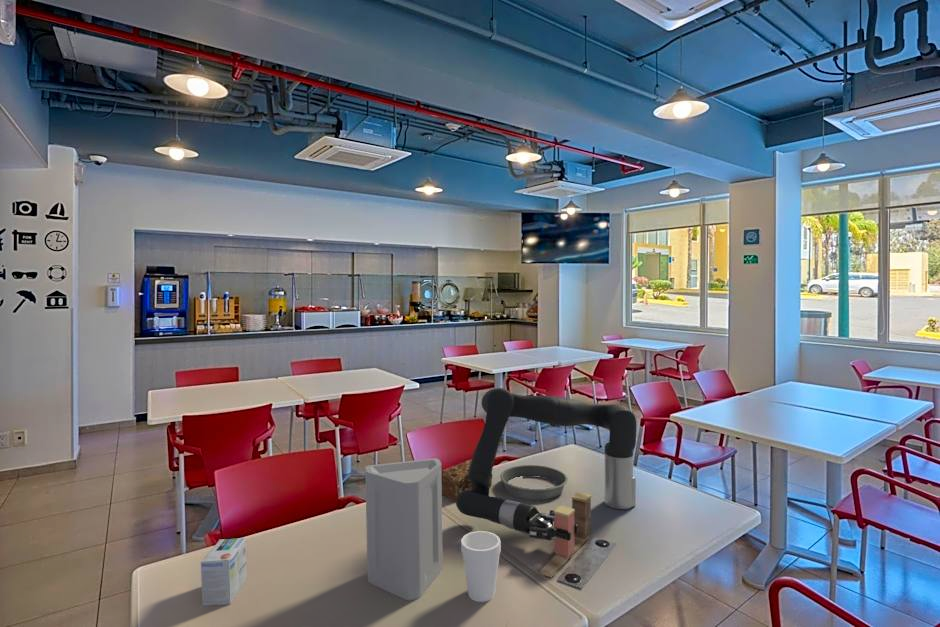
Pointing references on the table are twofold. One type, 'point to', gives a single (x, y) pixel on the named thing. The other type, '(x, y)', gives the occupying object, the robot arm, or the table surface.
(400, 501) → the triangular storage bin
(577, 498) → the rail
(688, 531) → the table surface
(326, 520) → the table surface
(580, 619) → the table surface
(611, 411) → the robot arm
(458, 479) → the bread
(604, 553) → the flange plate
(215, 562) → the light bulb box
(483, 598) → the foam cup
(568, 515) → the sliding leg
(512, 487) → the cake pan
